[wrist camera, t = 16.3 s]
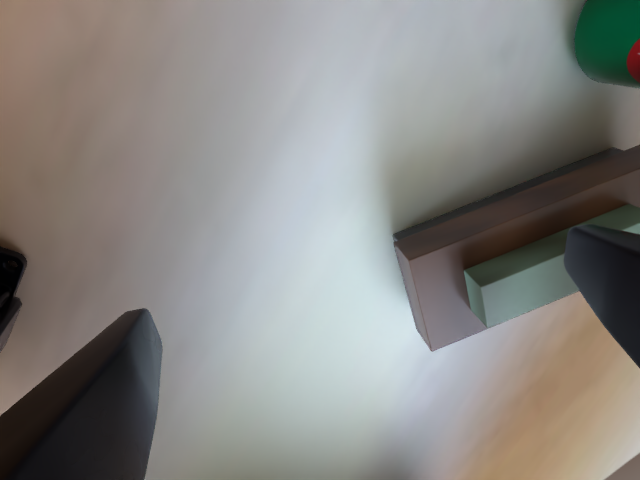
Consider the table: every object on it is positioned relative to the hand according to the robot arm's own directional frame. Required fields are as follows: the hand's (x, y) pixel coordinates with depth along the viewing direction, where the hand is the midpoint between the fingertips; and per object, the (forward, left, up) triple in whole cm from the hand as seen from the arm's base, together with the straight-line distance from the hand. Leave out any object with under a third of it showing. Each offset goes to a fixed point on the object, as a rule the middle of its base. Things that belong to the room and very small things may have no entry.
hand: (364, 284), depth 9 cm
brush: (+14, +2, -13) cm, 19 cm away
